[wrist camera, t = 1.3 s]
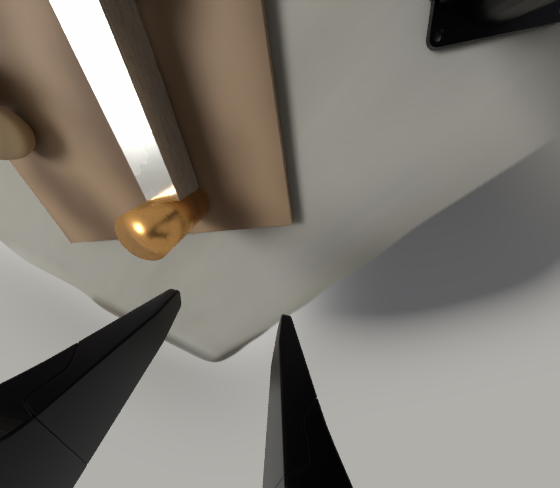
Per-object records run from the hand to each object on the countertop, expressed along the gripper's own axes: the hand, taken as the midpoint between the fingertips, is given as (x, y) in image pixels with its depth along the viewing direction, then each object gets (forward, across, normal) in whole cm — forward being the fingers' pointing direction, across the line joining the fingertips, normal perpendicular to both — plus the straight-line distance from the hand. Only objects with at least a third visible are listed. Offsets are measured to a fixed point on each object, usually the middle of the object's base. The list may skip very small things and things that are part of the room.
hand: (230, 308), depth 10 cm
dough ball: (+8, +20, -3) cm, 21 cm away
